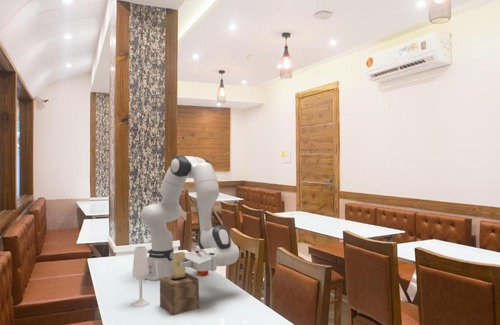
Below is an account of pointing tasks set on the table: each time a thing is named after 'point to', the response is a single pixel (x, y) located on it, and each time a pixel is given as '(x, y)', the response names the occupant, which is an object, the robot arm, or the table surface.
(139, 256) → the champagne flute
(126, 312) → the table surface
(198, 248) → the coffee cup
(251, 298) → the table surface
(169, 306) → the walnut tip box
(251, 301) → the table surface
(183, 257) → the olive yellow block
